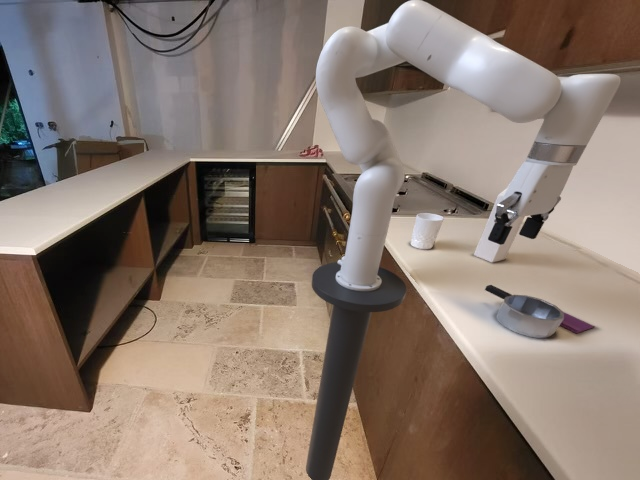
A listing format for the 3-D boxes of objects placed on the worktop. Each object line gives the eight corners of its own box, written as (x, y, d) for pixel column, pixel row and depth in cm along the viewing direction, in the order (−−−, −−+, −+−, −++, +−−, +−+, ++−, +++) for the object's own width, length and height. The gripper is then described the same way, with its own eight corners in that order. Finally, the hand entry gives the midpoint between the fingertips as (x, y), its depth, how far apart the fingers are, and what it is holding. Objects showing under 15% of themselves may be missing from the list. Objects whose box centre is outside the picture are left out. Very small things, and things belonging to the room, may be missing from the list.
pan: (466, 305, 78) (473, 288, 75) (495, 297, 80) (503, 281, 78) (532, 342, 66) (543, 324, 63) (564, 331, 68) (576, 314, 66)
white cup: (406, 246, 108) (414, 217, 103) (411, 239, 114) (419, 211, 108) (432, 251, 104) (442, 222, 99) (435, 244, 110) (445, 215, 105)
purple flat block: (517, 304, 77) (518, 302, 77) (534, 300, 79) (535, 298, 79) (576, 333, 68) (577, 331, 68) (594, 327, 70) (595, 325, 69)
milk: (486, 252, 104) (516, 181, 92) (505, 259, 99) (539, 185, 87) (473, 255, 102) (502, 183, 90) (492, 262, 97) (525, 187, 85)
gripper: (561, 149, 66) (520, 229, 75) (502, 153, 61) (466, 238, 70) (606, 155, 60) (556, 241, 69) (545, 159, 55) (500, 251, 64)
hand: (511, 239), depth 70 cm, fingers open, 9 cm apart
